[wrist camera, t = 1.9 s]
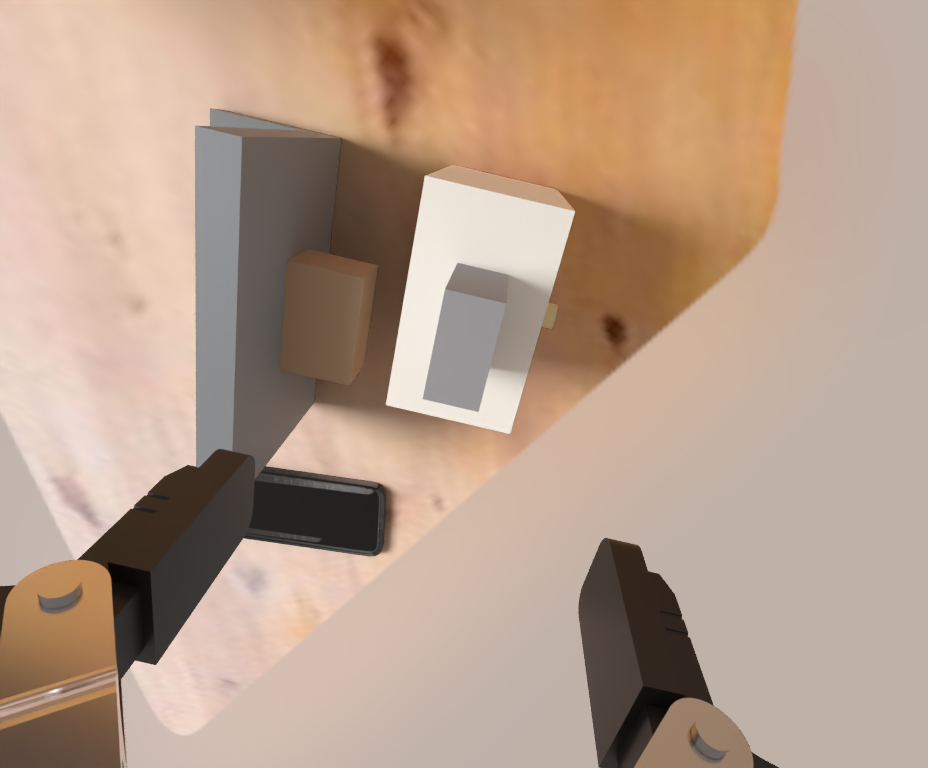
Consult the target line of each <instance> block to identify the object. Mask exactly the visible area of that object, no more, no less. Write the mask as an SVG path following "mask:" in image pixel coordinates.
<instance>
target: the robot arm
mask: <svg viewBox="0 0 928 768" xmlns="http://www.w3.org/2000/svg"><path fill="white" fill-rule="evenodd" d="M254 481H255V459H254V457H253V456H251V455H246V454H242V453H238V452H233V451H229V450H225V449H217V450H216V451H215V452H214V453H213V454H212V455H211V456H210V457H209V458H208V459H207V460H206V461H205V462H204V463H203V464H202V465H201V466H200V467H199V468H198V467H194V466H190V465H187V466H185V467H183V468H181V469H179V470H177V471H175V472H173V473H171V474H169V475H167V476H165V477H164V478H163V479H162V480H160V481H159V482H158V483H157V484H156V485H155V486H154V487H153V488H152V489H151V490H150V491H149V492H148V495H147V496H144V497H143V498H142V499H141V500H140V501H139V502H137V503H136V504H135V505H134V508H133V509H130V510H129V511H128V512H127V513H126V514H125V515H124V516H123V517H122V518H121V519H120V520H119V521H118V522H117V523H115V524H114V525H113V526H112V527H111V528H110V529H109V530H108V531H107V532H106V533H105V534H104V535H103V536H102V537H101V538H100V539H99V540H98V541H97V542H96V543H95V544H93V545H92V546H91V547H90V548H89V549H88V550H87V551H86V552H85V553H84V554H83V555H82V556H81V557H80V558H79V559H78V560H70V561H63V562H59V563H55V564H51V565H48V566H46V567H43V568H41V569H39V570H37V571H35V572H33V573H31V574H30V575H28V576H26V577H25V578H24V579H22V580H21V581H20V582H19V583H18V584H17V585H15V586H0V768H127V755H126V754H127V753H126V738H125V724H124V708H123V693H122V680H121V679H122V677H123V676H124V675H125V673H126V672H127V670H128V669H129V668H130V666H131V665H132V664H133V662H134V661H135V660H136V661H140V662H145V663H149V664H153V665H156V664H157V663H158V661H159V660H160V658H161V657H162V655H163V654H164V653H165V651H166V650H167V648H168V647H169V645H170V644H171V642H172V641H173V639H174V638H175V637H176V635H177V634H178V632H179V631H180V629H181V628H182V626H183V625H184V623H185V622H186V621H187V619H188V618H189V616H190V615H191V613H192V612H193V610H194V609H195V607H196V606H197V605H198V603H199V602H200V600H201V599H202V597H203V596H204V594H205V593H206V591H207V590H208V589H209V587H210V586H211V584H212V583H213V581H214V580H215V578H216V577H217V575H218V574H219V573H220V571H221V570H222V568H223V567H224V565H225V564H226V562H227V561H228V559H229V558H230V557H231V555H232V554H233V552H234V551H235V549H236V548H237V546H238V545H239V543H240V542H241V541H242V539H243V537H244V536H245V534H246V532H247V530H248V527H249V525H250V522H251V518H252V513H253V501H254ZM579 621H580V628H581V636H582V644H583V651H584V659H585V666H586V674H587V682H588V688H589V697H590V704H591V712H592V719H593V727H594V734H595V742H596V750H597V757H598V764H599V767H600V768H778V767H777V766H775V765H773V764H771V763H769V762H767V761H765V760H764V759H762V758H760V757H758V756H757V755H755V754H754V753H752V752H751V749H750V746H749V744H748V742H747V740H746V738H745V737H744V735H743V733H742V732H741V730H740V729H739V728H738V727H737V725H736V724H735V723H734V722H733V721H732V720H731V719H730V718H729V717H728V716H727V715H725V714H724V713H723V712H722V711H721V710H719V709H718V708H716V707H714V705H713V703H712V700H711V697H710V694H709V692H708V688H707V685H706V683H705V680H704V677H703V674H702V671H701V668H700V665H699V663H698V660H697V657H696V654H695V651H694V648H693V645H692V643H691V640H690V638H689V637H688V631H687V628H686V625H685V622H684V620H682V614H681V611H680V608H679V605H678V602H677V600H676V597H675V594H674V593H673V592H672V590H671V589H670V588H669V586H668V585H667V584H666V582H665V581H664V580H663V579H662V577H661V576H660V575H659V574H657V573H652V572H648V570H647V567H646V564H645V560H644V557H643V554H642V551H641V548H640V547H639V546H638V545H635V544H630V543H626V542H621V541H617V540H613V539H608V538H604V539H603V540H602V542H601V543H600V545H599V548H598V550H597V553H596V555H595V558H594V560H593V562H592V565H591V567H590V569H589V572H588V574H587V577H586V579H585V581H584V584H583V586H582V589H581V593H580V599H579Z"/></svg>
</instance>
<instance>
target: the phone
mask: <svg viewBox="0 0 928 768" xmlns="http://www.w3.org/2000/svg"><path fill="white" fill-rule="evenodd" d="M385 510H386V490H385V488H384V487H383V486H382V485H380V484H379V483H376V482H371V481H364V480H357V479H350V478H343V477H336V476H329V475H322V474H315V473H308V472H301V471H294V470H287V469H280V468H273V467H266V466H265V467H264V468H263V470H262V471H261V472H260V473H259V475H258V476H257V477H256V479H255V481H254V501H253V513H252V518H251V522H250V525H249V527H248V530H247V532H246V534H245V536H244V537H243V538H246V539H253V540H260V541H267V542H274V543H280V544H287V545H294V546H301V547H308V548H315V549H322V550H329V551H336V552H342V553H349V554H356V555H363V556H376V555H378V554H379V553H380V552H381V550H382V547H383V543H384V528H385Z"/></svg>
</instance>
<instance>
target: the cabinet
mask: <svg viewBox="0 0 928 768" xmlns="http://www.w3.org/2000/svg"><path fill="white" fill-rule="evenodd" d="M574 214H575V210H574V209H573V208H572V207H571V206H570V204H569V203H568V202H567V201H566V200H565V198H564V197H563V196H562V195H561V194H560V193H559V191H558V190H557V189H553V188H549V187H545V186H541V185H537V184H532V183H528V182H524V181H520V180H516V179H511V178H507V177H503V176H499V175H495V174H490V173H486V172H482V171H478V170H474V169H469V168H465V167H461V166H457V165H451V166H448V167H446V168H443V169H441V170H438V171H436V172H433V173H430V174H428V175H425V178H424V184H423V190H422V196H421V201H420V207H419V213H418V219H417V225H416V231H415V236H414V242H413V248H412V254H411V260H410V266H409V272H408V277H407V283H406V289H405V295H404V301H403V307H402V313H401V318H400V324H399V330H398V336H397V342H396V348H395V354H394V359H393V365H392V371H391V377H390V383H389V389H388V394H387V400H386V405H388V406H392V407H396V408H401V409H405V410H409V411H414V412H418V413H422V414H426V415H431V416H435V417H439V418H444V419H448V420H452V421H456V422H461V423H465V424H469V425H474V426H478V427H482V428H487V429H491V430H495V431H499V432H504V433H508V434H510V432H511V429H512V425H513V422H514V419H515V415H516V412H517V408H518V405H519V402H520V398H521V395H522V391H523V388H524V385H525V381H526V378H527V374H528V371H529V368H530V364H531V361H532V357H533V354H534V351H535V347H536V344H537V340H538V337H539V333H540V330H541V327H545V328H549V329H552V328H553V326H554V323H555V320H556V316H557V311H558V305H557V304H553V303H549V299H550V296H551V293H552V289H553V286H554V282H555V279H556V276H557V272H558V269H559V265H560V262H561V259H562V255H563V252H564V248H565V245H566V241H567V238H568V235H569V231H570V228H571V224H572V221H573V218H574Z"/></svg>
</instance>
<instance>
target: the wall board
mask: <svg viewBox="0 0 928 768" xmlns="http://www.w3.org/2000/svg"><path fill="white" fill-rule="evenodd" d="M341 139H342V138H339V137H335V136H330V135H326V134H322V133H318V132H314V131H309V130H305V129H301V128H297V127H293V126H288V125H284V124H280V123H276V122H272V121H267V120H263V119H259V118H255V117H251V116H246V115H242V114H238V113H234V112H230V111H225V110H220V109H210V126H195V240H196V467H198V468H199V467H200V466H201V465H202V464H203V463H204V462H205V461H206V460H207V459H208V458H209V457H210V456H211V455H212V454H213V453H214V452H215V451H216V450H217V449H225V450H229V451H233V452H238V453H242V454H246V455H251V456H253V457H254V459H255V479H256V477H257V476H258V475H259V473H260V472H261V471H262V470H263V468H264V467H265V466H266V464H267V463H268V462H269V460H270V459H271V458H272V457H273V455H274V454H275V453H276V451H277V450H278V449H279V447H280V446H281V445H282V444H283V442H284V441H285V440H286V438H287V437H288V436H289V434H290V433H291V432H292V431H293V429H294V428H295V427H296V425H297V424H298V423H299V421H300V420H301V419H302V418H303V416H304V415H305V414H306V412H307V411H308V410H309V408H310V407H311V406H312V405H313V403H314V397H315V388H316V378H317V379H321V380H325V381H330V382H334V383H338V384H343V385H347V386H350V385H351V383H352V382H353V380H354V379H355V377H356V376H357V374H358V373H359V372H360V370H361V369H362V367H363V366H364V362H365V355H366V348H367V341H368V334H369V327H370V320H371V313H372V307H373V300H374V293H375V286H376V279H377V272H378V265H375V264H371V263H366V262H362V261H358V260H354V259H349V258H345V257H341V256H337V255H332V254H330V244H331V235H332V225H333V216H334V206H335V197H336V187H337V177H338V168H339V158H340V149H341Z"/></svg>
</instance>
